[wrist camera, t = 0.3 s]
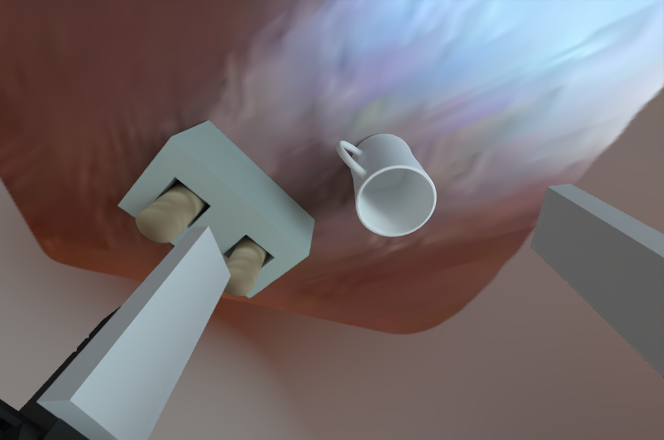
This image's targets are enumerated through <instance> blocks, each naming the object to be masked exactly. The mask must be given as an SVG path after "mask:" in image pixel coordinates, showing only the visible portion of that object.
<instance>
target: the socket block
mask: <svg viewBox="0 0 664 440" xmlns="http://www.w3.org/2000/svg"><path fill="white" fill-rule="evenodd" d="M180 182H182V183H183V184H184V185H186V186H187V187H188V188H189V189H191V190H192V191H193V192H194V193H196V194H197V195H198V196H199V197H200V198H202V199H203V200H204V201H205V202H207V203H208V204H207V205H206V206H205V207H204V208H203V209H202V210H201V211H200V212H199V214H198V215H197V216H196V217H195V218H194V219H193V220H192V221H191V222H190V223H189V224H188V225H187V226H186V227H185V228H184V229H183V230H182V231H181V232H180V234H179V235H178V236H177V237H176V238H175V239H174V240H173V241H171V242H170V243H172V244H173V245H174V246H176V245H177V243H178V242H179V241H180V240H181V239H182V238H183V237H184V236H185V234H186V233H187V232H188V231H189V230H190V229H191V228H195V227H203V226H209V228H210V230H211V232H212V234H213V237H214V239H215V241H216V243H217V246H218V248H219V250H220V252H221V254H222V257H223V259H224V261H225V263H227V261H228V260H229V258H230V256H231V254H232V253H233V251H234V249H235V247H236V246H237V244H238V242H239V240H240V239H241V238H242V237H243V236H245V235H248V236H249V237H250V238H251V239H252V240H254V241H255V242H256V243H257V244H259V245H260V246H261V247H262V248H264V249H265V250H266V251H267V254H266V257H265V259H264V262H263V264H262V267H261V269H260V272H259V274H258V277H257V279H256V282H255V284H254V287H253V289H252V291H251V292H250V293H249V294H247V295H246V296H247V297H248V298H251V297H252V296H254V295H255V294H256V293H258V292H259V291H261V290H262V289H263V288H265V287H266V286H267V285H269V284H270V283H272V282H273V281H274V280H276V279H277V278H278V277H280V276H281V275H283V274H284V273H285V272H287V271H288V270H289V269H291V268H292V267H294V266H295V265H296V264H298V263H299V262H300V261H302V260H303V259H305V258H306V257H307V256H309V251H310V245H311V239H312V234H313V228H314V222H315V220H314V219H313V218H312V217H311V216H310V215H309V214H308V213H307V212H306V211H305V210H304V209H303V208H302V207H301V206H300V205H298V204H297V203H296V202H295V201H294V200H293V199H292V198H291V197H290V196H289V195H288V194H287V193H286V192H285V191H284V190H283V189H281V188H280V187H279V186H278V185H277V184H276V183H275V182H274V181H273V180H272V179H271V178H270V177H269V176H268V175H267V174H266V173H264V172H263V171H262V170H261V169H260V168H259V167H258V166H257V165H256V164H255V163H254V162H253V161H252V160H251V159H250V158H249V157H248V156H246V155H245V154H244V153H243V152H242V151H241V150H240V149H239V148H238V147H237V146H236V145H235V144H234V143H233V142H232V141H231V140H229V139H228V138H227V137H226V136H225V135H224V134H223V133H222V132H221V131H220V130H219V129H218V128H217V127H216V126H215V125H214V124H212V123H211V122H210V121H209V120H208V121H206V122H204V123H202V124H199V125H197V126H195V127H192V128H190V129H188V130H186V131H183V132H181V133H179V134H176V135H174V136H172V137H171V138H170V139H169V140H168V142H167V143H166V144H165V145H164V147H163V148H162V149H161V151H160V152H159V153H158V154H157V156H156V157H155V158H154V160H153V161H152V162H151V163H150V165H149V166H148V167H147V169H146V170H145V171H144V172H143V174H142V175H141V176H140V177H139V179H138V180H137V181H136V183H135V184H134V185H133V186H132V188H131V189H130V190H129V192H128V193H127V194H126V195H125V197H124V198H123V199H122V201H121V202H120V203H119V204H118V206H119V207H120V208H122V209H123V210H125V211H126V212H128V213H129V214H130V215H132V216H133V217H135V218H136V216H137V215H138V213H139V212H141V211H142V210H143V209H145V208H146V207H147V206H149V205H150V204H151V203H153V202H154V201H155V200H157V199H158V198H160V197H161V196H162V195H164V194H165V193H166V192H168V191H169V190H170V189H172V188H173V187H174V186H176V185H177V184H178V183H180Z"/></svg>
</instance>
